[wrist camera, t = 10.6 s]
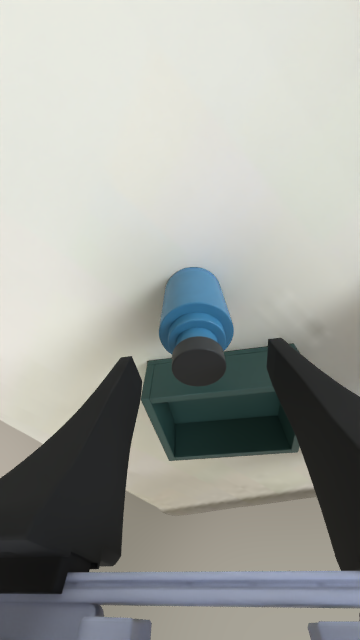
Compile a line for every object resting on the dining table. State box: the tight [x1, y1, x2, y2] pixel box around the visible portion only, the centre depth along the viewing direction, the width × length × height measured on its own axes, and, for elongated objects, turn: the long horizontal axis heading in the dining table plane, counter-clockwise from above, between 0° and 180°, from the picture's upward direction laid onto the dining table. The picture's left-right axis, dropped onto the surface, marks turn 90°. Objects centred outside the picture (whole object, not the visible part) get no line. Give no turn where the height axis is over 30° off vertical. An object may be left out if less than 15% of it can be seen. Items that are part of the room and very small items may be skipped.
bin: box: [141, 344, 300, 461], centre depth 23 cm, size 15×12×5 cm
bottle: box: [159, 267, 234, 386], centre depth 14 cm, size 5×5×8 cm
